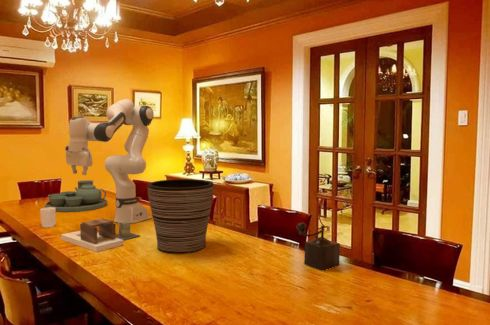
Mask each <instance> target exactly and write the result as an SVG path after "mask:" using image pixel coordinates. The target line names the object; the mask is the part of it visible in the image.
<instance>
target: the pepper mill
mask: <svg viewBox="0 0 490 325" xmlns="http://www.w3.org/2000/svg"><path fill="white" fill-rule="evenodd" d="M306 228H307V225H306V223H304V222H299V223H297V225H296V229H297V230H298V234H299V236H300V235H301V236H304V237H308V238H310V237H315V238H312V239H310V240H308V241H307V240H306V241H304V262H303V264H304V265H306V266H307V267H310V268H313V269H315V268H316V270H318V269H319V270H320V271H322V270H324V271H327V270H326V269H328V270H330V269H329V268H331V269H333V268H332V267H334V268H336V267H335V266H337V267H338V265H339V266H340V252H341V251H340V249H341V248H340V246H341V244H340V243H338V242H336V241H333V240H329V239H328V238H325V237H324V234H325V232H324V231H325V226H324V225H323V224H322V225H321V227H320V230H319V231H317V232H315V233H311V234H309V233H308V234H307V232H306ZM319 234H321V236H320V237H318V235H319Z"/></svg>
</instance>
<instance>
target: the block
mask: <svg viewBox="0 0 490 325" xmlns="http://www.w3.org/2000/svg"><path fill="white" fill-rule="evenodd" d="M130 233H131V223H130V222H127V221H123V222H119V223H118V234H119V236H121V237H127V236H130Z"/></svg>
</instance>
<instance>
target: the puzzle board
mask: <svg viewBox="0 0 490 325" xmlns="http://www.w3.org/2000/svg"><path fill="white" fill-rule="evenodd" d="M60 239H61V241H65V242H67V243H70V244H72V245H76V246H78V247H81V248H83V249H87V250H89V251H92V252H95V253H98V252H103V251H106V250H107V251H108V250H110V249H114V248H117V247H118V248H119V247H121V246H124V241H123V240H122V239H118V238H116V239H111V238H107V237H104V236H101V235H99V231H97V242H98V243H95V244H94V243H91V242H88V241H85V240H82V239H81V233H80V230H76V231H72V232H67V233H62V234H60Z"/></svg>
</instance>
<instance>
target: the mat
mask: <svg viewBox="0 0 490 325" xmlns="http://www.w3.org/2000/svg"><path fill="white" fill-rule="evenodd" d="M140 237H141V235H139V234H136V233H132V232H130V236H127V237H121V236H119V233H117V234H116V238H118V239H122V240H123V242H124V241H128V240H132V239H136V238H140Z"/></svg>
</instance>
